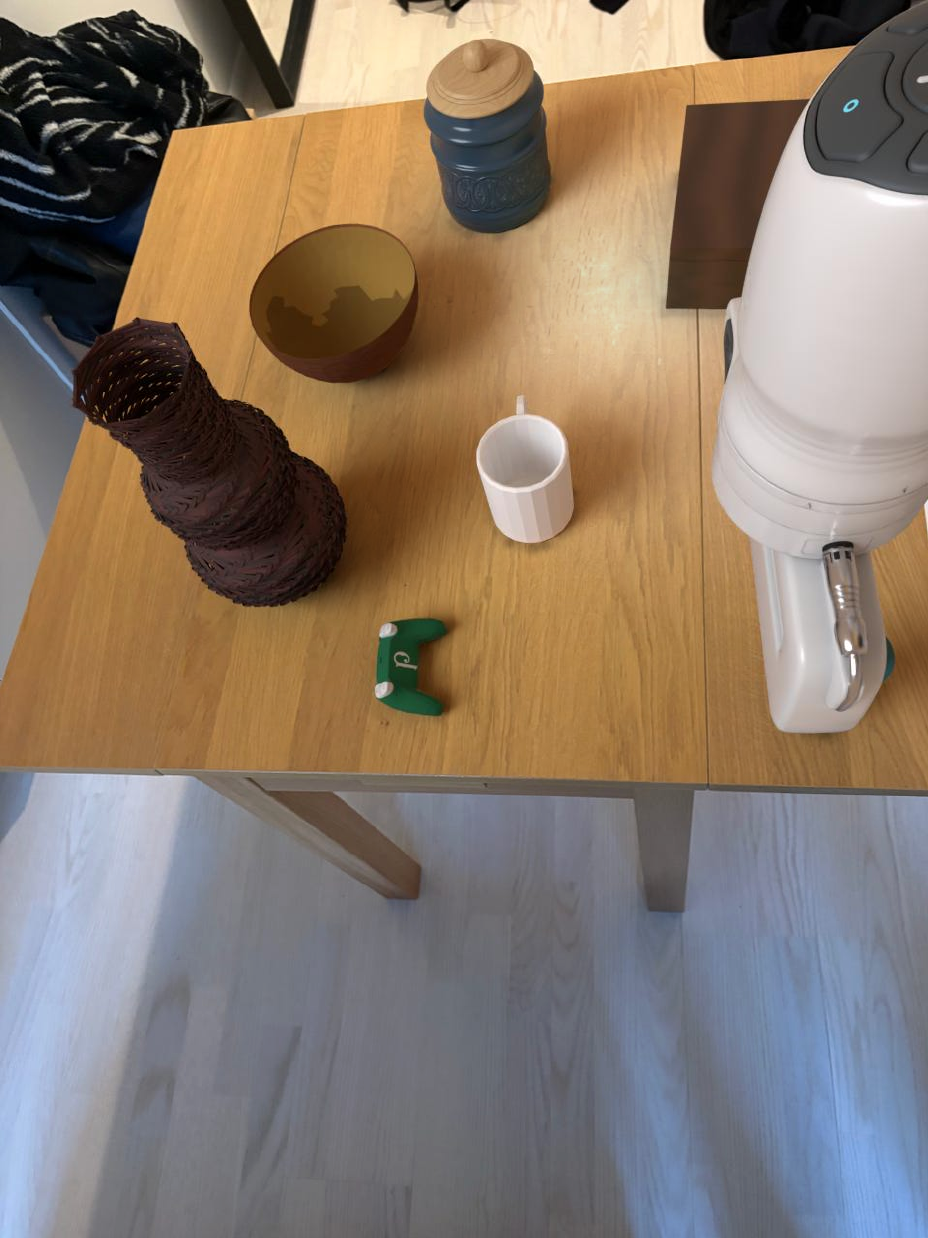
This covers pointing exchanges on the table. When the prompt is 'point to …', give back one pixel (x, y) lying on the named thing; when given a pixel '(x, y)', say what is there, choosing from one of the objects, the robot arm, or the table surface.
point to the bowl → (337, 302)
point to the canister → (489, 135)
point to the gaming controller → (405, 665)
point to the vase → (214, 468)
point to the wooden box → (723, 196)
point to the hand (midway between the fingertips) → (769, 584)
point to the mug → (526, 475)
